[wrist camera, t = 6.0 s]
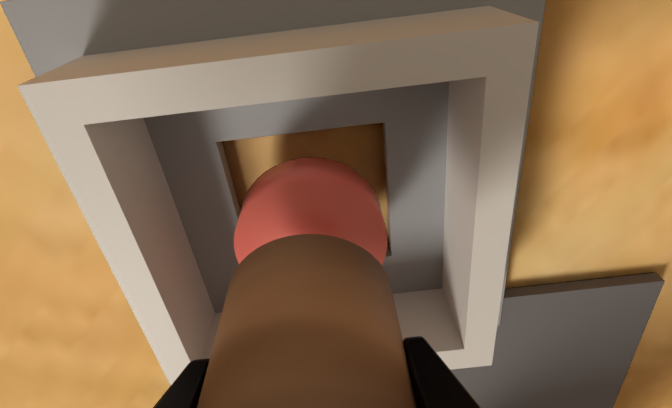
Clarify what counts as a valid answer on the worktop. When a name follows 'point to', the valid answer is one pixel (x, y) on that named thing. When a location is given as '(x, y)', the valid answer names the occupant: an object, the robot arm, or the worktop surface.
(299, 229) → the button
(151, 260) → the grey square tray
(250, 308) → the dowel
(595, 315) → the pad
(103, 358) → the worktop surface
